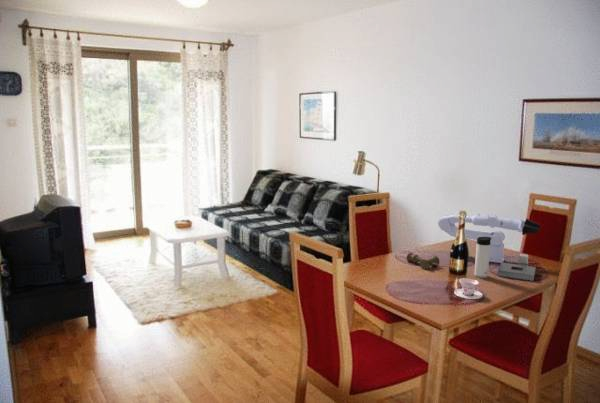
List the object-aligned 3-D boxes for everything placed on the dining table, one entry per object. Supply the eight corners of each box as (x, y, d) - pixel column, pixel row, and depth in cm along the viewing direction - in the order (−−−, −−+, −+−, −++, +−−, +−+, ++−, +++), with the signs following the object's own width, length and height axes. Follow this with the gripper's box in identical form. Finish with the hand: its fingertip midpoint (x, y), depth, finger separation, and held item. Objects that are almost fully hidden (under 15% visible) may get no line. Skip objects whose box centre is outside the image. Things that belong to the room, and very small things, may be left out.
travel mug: (489, 279, 237) (492, 239, 233) (475, 278, 238) (478, 238, 235) (487, 274, 243) (490, 235, 239) (473, 273, 244) (476, 235, 241)
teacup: (448, 294, 218) (449, 281, 216) (462, 287, 226) (463, 275, 225) (474, 302, 209) (475, 288, 208) (487, 294, 217) (488, 281, 216)
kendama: (414, 260, 267) (445, 269, 252) (402, 264, 262) (433, 273, 246) (414, 249, 266) (445, 257, 251) (403, 253, 261) (433, 261, 245)
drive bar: (518, 268, 253) (519, 255, 252) (518, 266, 256) (519, 253, 255) (526, 270, 251) (527, 256, 250) (527, 267, 255) (528, 254, 253)
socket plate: (497, 275, 242) (498, 270, 241) (500, 267, 254) (501, 262, 253) (533, 281, 234) (533, 275, 234) (534, 272, 247) (535, 267, 246)
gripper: (509, 221, 252) (538, 225, 246) (513, 213, 264) (541, 217, 257) (508, 233, 254) (536, 238, 248) (512, 225, 266) (539, 230, 260)
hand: (539, 228), depth 253 cm, fingers open, 7 cm apart
